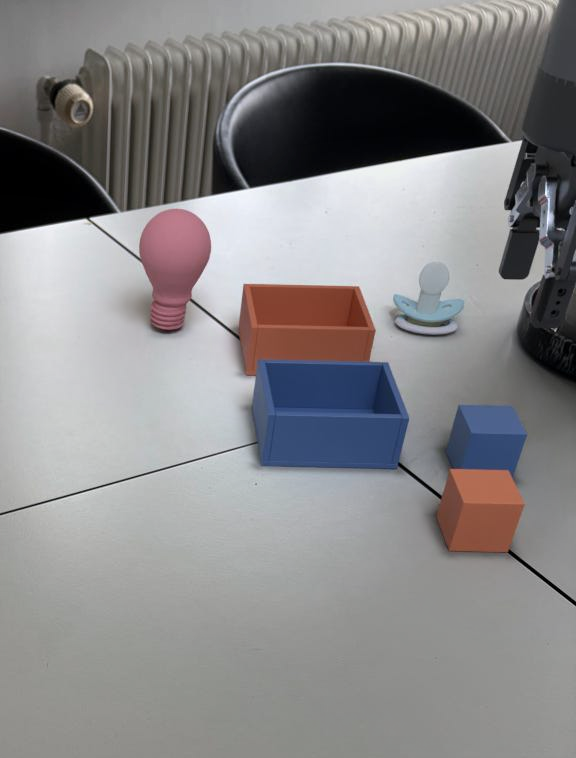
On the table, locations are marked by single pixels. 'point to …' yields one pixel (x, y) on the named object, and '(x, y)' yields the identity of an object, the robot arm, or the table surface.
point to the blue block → (486, 438)
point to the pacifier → (429, 304)
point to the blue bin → (328, 414)
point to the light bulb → (173, 262)
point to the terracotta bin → (304, 324)
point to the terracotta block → (479, 510)
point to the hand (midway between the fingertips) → (527, 300)
